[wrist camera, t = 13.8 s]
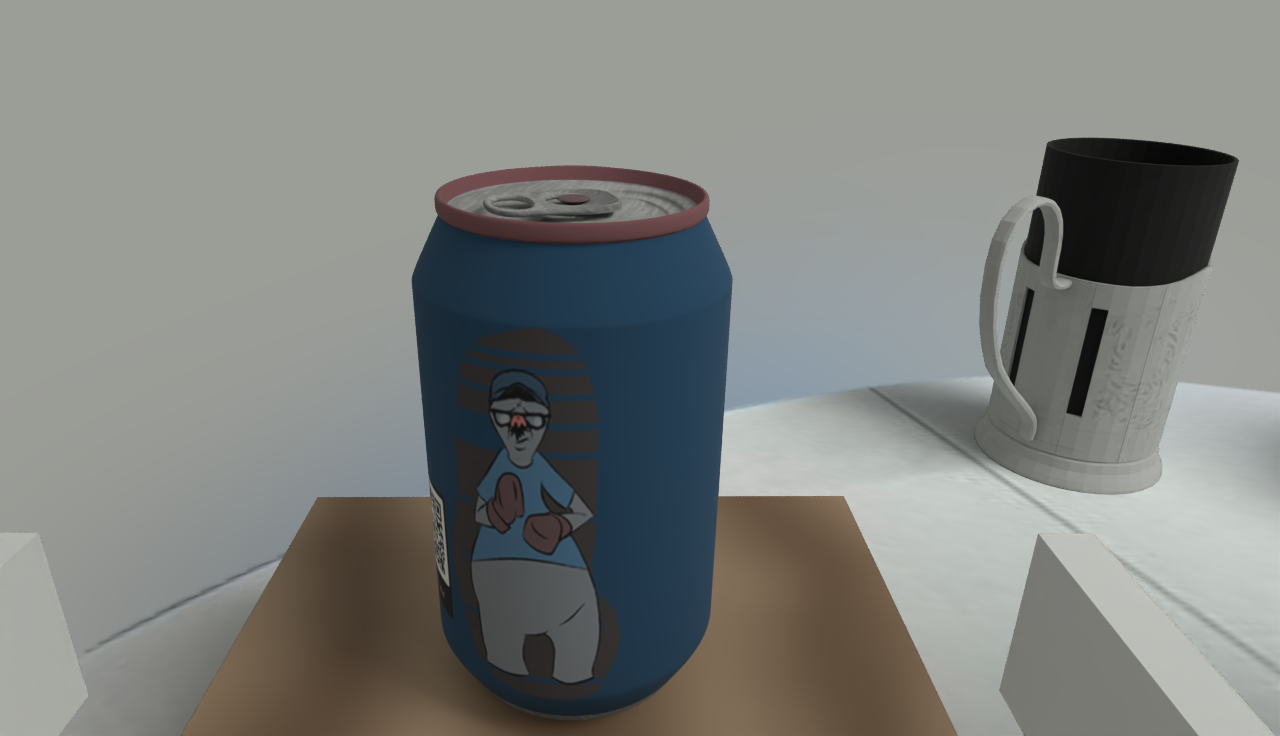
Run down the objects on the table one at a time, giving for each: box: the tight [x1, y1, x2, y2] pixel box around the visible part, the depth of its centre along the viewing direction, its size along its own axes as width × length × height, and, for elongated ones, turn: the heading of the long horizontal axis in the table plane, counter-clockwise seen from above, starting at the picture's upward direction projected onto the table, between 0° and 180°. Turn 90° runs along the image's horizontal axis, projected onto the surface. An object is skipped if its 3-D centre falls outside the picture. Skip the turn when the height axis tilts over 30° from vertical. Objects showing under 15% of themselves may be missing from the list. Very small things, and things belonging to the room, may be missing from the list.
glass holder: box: [974, 138, 1239, 494], centre depth 39 cm, size 9×14×15 cm, turn 125°
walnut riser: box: [181, 496, 957, 736], centre depth 24 cm, size 18×14×5 cm
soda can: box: [412, 166, 732, 720], centre depth 20 cm, size 7×7×12 cm
